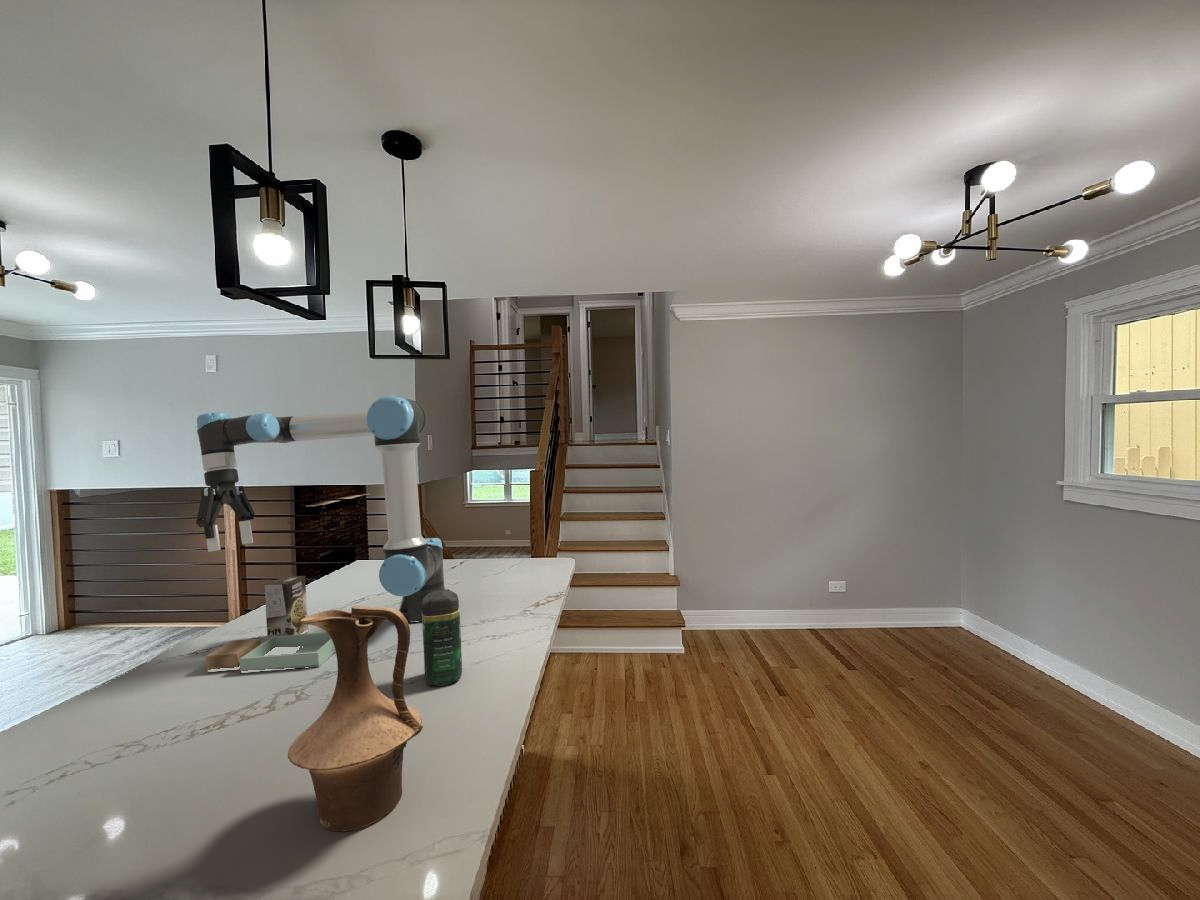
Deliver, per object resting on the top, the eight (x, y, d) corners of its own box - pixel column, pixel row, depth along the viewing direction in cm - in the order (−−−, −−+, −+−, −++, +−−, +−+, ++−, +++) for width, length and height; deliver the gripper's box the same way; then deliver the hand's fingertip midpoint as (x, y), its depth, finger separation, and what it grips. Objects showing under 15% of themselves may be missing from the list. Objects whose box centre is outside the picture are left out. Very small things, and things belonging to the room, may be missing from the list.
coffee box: (290, 643, 143) (286, 583, 143) (266, 644, 143) (263, 584, 143) (309, 631, 152) (306, 575, 152) (287, 632, 152) (283, 576, 152)
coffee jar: (463, 683, 113) (459, 596, 113) (424, 690, 111) (419, 601, 111) (462, 665, 123) (457, 584, 122) (426, 671, 120) (421, 589, 120)
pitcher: (441, 764, 85) (431, 587, 84) (406, 845, 68) (393, 624, 67) (328, 772, 84) (317, 594, 84) (263, 856, 67) (249, 633, 67)
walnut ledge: (261, 654, 137) (260, 638, 137) (238, 670, 127) (237, 653, 127) (232, 656, 136) (231, 640, 136) (206, 673, 126) (205, 656, 126)
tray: (343, 644, 141) (342, 631, 140) (319, 667, 126) (318, 652, 126) (273, 650, 139) (272, 636, 139) (240, 674, 125) (239, 659, 124)
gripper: (236, 472, 159) (247, 543, 158) (171, 472, 134) (183, 556, 133) (262, 467, 159) (272, 538, 158) (201, 467, 134) (213, 551, 134)
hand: (231, 547), depth 146 cm, fingers open, 13 cm apart
